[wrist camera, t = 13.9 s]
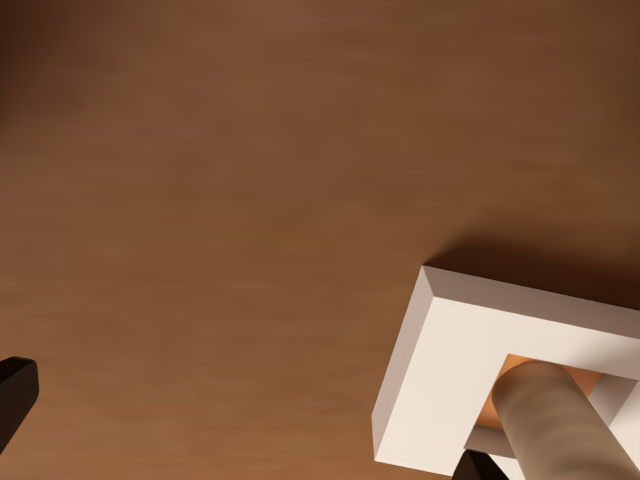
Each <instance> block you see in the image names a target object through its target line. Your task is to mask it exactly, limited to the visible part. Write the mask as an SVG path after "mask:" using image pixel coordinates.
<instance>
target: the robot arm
mask: <svg viewBox="0 0 640 480" xmlns="http://www.w3.org/2000/svg"><path fill="white" fill-rule="evenodd" d="M38 395H39V381H38V370H37V363H36V362H35V361H34V360H32V359H28V358H23V357H18V356H14V357H10V358H7V359H5V360H2V361H0V455H1V453H2V452H3V450H4V449H5V447H6V446H7V444H8V443H9V441H10V440H11V438H12V437H13V435H14V434H15V432H16V431H17V429H18V428H19V426H20V425H21V423H22V422H23V420H24V419H25V417H26V416H27V414H28V413H29V411H30V410H31V408H32V406H33V405H34V403H35V402H36V400H37V398H38ZM452 480H510V479H509V478H508V477H507V476H506V474H505V473H504V472H503V471H502V470H501V469H500V467H499V466H498V465H497V464H496V463H495V461H494V460H493V459H492V458H491V457H490V456H489V454H487V453H486V452H484V451H479V450H474V449H466V450H465V451H464V452H463V454H462V456H461V458H460V460H459V462H458V464H457V466H456V469H455V471H454V473H453V476H452Z"/></svg>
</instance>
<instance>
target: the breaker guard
mask: <svg viewBox="0 0 640 480" xmlns="http://www.w3.org/2000/svg"><path fill="white" fill-rule="evenodd" d="M508 353H509V354H514V355H519V356H524V357H528V358H533V359H538V360H543V361H548V362H553V363H557V364H562V365H567V366H572V367H577V368H582V369H587V370H591V371H596V372H601V373H603V374H602V375H601V377H600V379H599V380H598V382H597V384H596V385H595V387H594V389H593V390H592V392H591V394H590V395H589V397H588V400H589V401H590V403H591V404H592V406H593V407H594V408H595V410H596V411H597V412H598V414H599V415H600V417H601V418H602V419H603V421H604V422H605V424H606V425H607V426H608V428H609V429H610V430H611V432H612V433H613V435H614V436H615V437H616V439H617V440H618V442H619V443H620V444H621V446H622V447H623V448H624V450H625V451H626V453H627V454H628V455H629V457H630V458H631V460H632V461H633V462H634V464H635V465H636V466H637V468H638V469H639V471H640V311H638V310H633V309H629V308H624V307H619V306H614V305H610V304H605V303H600V302H595V301H591V300H586V299H581V298H576V297H572V296H567V295H562V294H557V293H553V292H548V291H543V290H538V289H534V288H529V287H524V286H519V285H515V284H510V283H505V282H500V281H495V280H491V279H486V278H481V277H476V276H472V275H467V274H462V273H457V272H453V271H448V270H443V269H438V268H434V267H429V266H424V265H422V266H421V269H420V272H419V275H418V278H417V281H416V284H415V287H414V290H413V293H412V296H411V299H410V302H409V305H408V308H407V311H406V314H405V317H404V320H403V323H402V326H401V329H400V332H399V335H398V338H397V341H396V344H395V347H394V350H393V353H392V356H391V359H390V362H389V365H388V368H387V371H386V374H385V377H384V380H383V383H382V386H381V389H380V392H379V395H378V398H377V401H376V404H375V407H374V410H373V413H372V430H373V445H374V459H375V461H379V462H384V463H389V464H394V465H399V466H404V467H409V468H414V469H419V470H424V471H429V472H434V473H439V474H444V475H449V476H453V473H454V471H455V469H456V466H457V464H458V462H459V460H460V458H461V456H462V454H463V452H464V451H465V450H466V449H474V450H479V451H484V452H486V453H487V454H489V456H490V457H491V458H492V459H493V460H494V461H495V463H496V464H497V465H498V466H499V467H500V469H501V470H502V471H503V472H504V473H505V474H506V476H507V477H508V478H509V479H510V480H525V477H524V475H523V473H522V470H521V468H520V466H519V463H518V461H517V459H516V456H515V454H514V452H513V449H512V447H511V445H510V443H509V440H508V438H507V436H506V433H505V431H504V430H502V429H497V428H492V427H487V426H482V425H477V424H475V422H476V420H477V418H478V416H479V414H480V412H481V409H482V407H483V405H484V403H485V401H486V399H487V397H488V395H489V393H490V390H491V388H492V386H493V384H494V382H495V380H496V378H497V376H498V374H499V371H500V369H501V367H502V365H503V363H504V361H505V359H506V357H507V355H508Z"/></svg>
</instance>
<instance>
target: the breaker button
mask: <svg viewBox="0 0 640 480" xmlns="http://www.w3.org/2000/svg"><path fill="white" fill-rule="evenodd" d="M533 361H543V360H538V359H533V358H528V357H524V356H519V355H514V354H509V353H508V355H507V357H506V359H505V361H504V363H503V365H502V367H501V369H500V371H499V374H498V376H497V378H496V380H495V382H494V384H493V386H492V388H491V390H490V393H489V395H488V397H487V399H486V401H485V403H484V405H483V407H482V409H481V412H480V414H479V416H478V418H477V420H476V422H475V424H477V425H482V426H487V427H492V428H497V429H502V430H504V429H503V426H502V424H501V422H500V419H499V417H498V415H497V412H496V410H495V408H494V405H493V402H492V390H493V387H494V385H495V383H496V381H497V380H498V379H499V377H500V376H501V375H502V374H503V373H505V372H506V371H507V370H509V369H511V368H512V367H515V366H517V365H519V364H522V363H527V362H533ZM545 362H548V361H545ZM550 363H553V362H550ZM554 364H556V365H559V366H561V367H562V368H564V369H565V370H566V371H567V372H568V373H569V374H570V375H571V377H572V378H573V379H574V381H575V382H576V383H577V385H578V386H579V388H580V389H581V390H582V392H583V393H584V395H585V396H586V397H587V399H588V397H589V395H590V394H591V392H592V390H593V389H594V387H595V385H596V384H597V382H598V380H599V379H600V377H601V375H602V374H603V373H601V372H596V371H591V370H587V369H582V368H577V367H572V366H567V365H562V364H557V363H554Z"/></svg>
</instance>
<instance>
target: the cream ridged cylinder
mask: <svg viewBox="0 0 640 480" xmlns="http://www.w3.org/2000/svg"><path fill="white" fill-rule="evenodd" d="M492 402H493V405H494V408H495V410H496V412H497V415H498V417H499V419H500V422H501V424H502V426H503V429H504V431H505V433H506V436H507V438H508V440H509V443H510V445H511V447H512V449H513V452H514V454H515V456H516V459H517V461H518V463H519V466H520V468H521V470H522V473H523V475H524V477H525V480H640V471H639V469H638V468H637V466H636V465H635V464H634V462H633V461H632V460H631V458H630V457H629V455H628V454H627V453H626V451H625V450H624V448H623V447H622V446H621V444H620V443H619V442H618V440H617V439H616V437H615V436H614V435H613V433H612V432H611V430H610V429H609V428H608V426H607V425H606V424H605V422H604V421H603V419H602V418H601V417H600V415H599V414H598V412H597V411H596V410H595V408H594V407H593V406H592V404H591V403H590V401H589V400H588V399H587V397H586V396H585V395H584V393H583V392H582V390H581V389H580V388H579V386H578V385H577V383H576V382H575V381H574V379H573V378H572V377H571V375H570V374H569V373H568V372H567V371H566V370H565V369H564V368H562V367H561V366H559V365H556V364H554V363H550V362H545V361H533V362H527V363H522V364H519V365H517V366H515V367H512V368H511V369H509V370H507V371H506V372H505V373H503V374H502V375H501V376H500V377H499V379H498V380H497V381H496V383H495V385H494V387H493V390H492Z"/></svg>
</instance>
